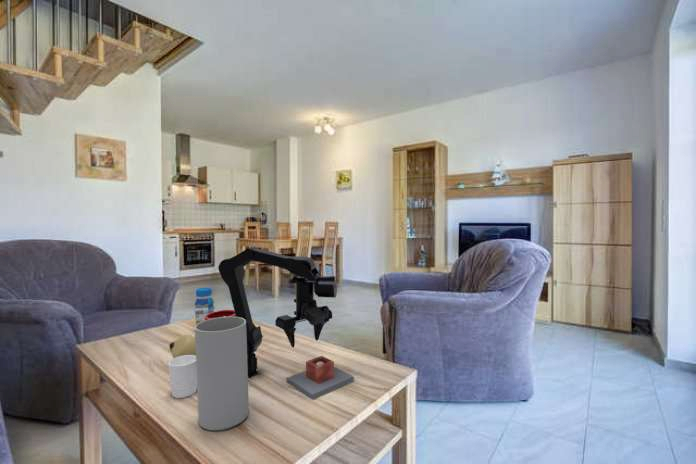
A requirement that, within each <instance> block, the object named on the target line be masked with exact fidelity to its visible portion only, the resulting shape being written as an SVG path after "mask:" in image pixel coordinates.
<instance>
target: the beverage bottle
mask: <svg viewBox="0 0 696 464" xmlns="http://www.w3.org/2000/svg"><path fill="white" fill-rule="evenodd" d="M212 291H213V289H212V288H211V287H200V288H197V289H196V290H195V296H196V300H195V302H194V307H195V308H194V313H195V314H194V315H195V318H194V319H195V326H196V325H197V324H198V323H200V322H202V321H205V316H206V315H207V314H209V313H212V312H215V305H214V303H215V302H214V299H213V298H212V295H213V292H212Z"/></svg>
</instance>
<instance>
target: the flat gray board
mask: <svg viewBox="0 0 696 464" xmlns="http://www.w3.org/2000/svg"><path fill="white" fill-rule="evenodd" d="M316 364H317V365H318V366H319V365H321V364H324V363H323V362H317V363H316ZM354 378H355V377H354V375H352V374H350V373H347V372H346V371H344V370H342V369H340V368H338V367H336V366H334V378H331V379H329V380H327V381H324V382H322V383H319V384H317V383H315V382H314V381H312V380H310V379H309V378H307V377H306V370H303V371H300V372H299V373H296V374H293V375H290V376H288V377H286V383H287V384H288V385H291V386H292V387H293V388H294V389H296V390H297V391H299V392H301V393H302V394H303V395H305V396H306V397H308V398H309V399H311V400H312V401H313V400H315V399H317V398H319V397H321V396H323V395H326V394H329V393H330V392H332V391H335V390H337V389H340V388H341V387H344V386H346V385H347V384H351V383H352V382H354V381H355V379H354Z"/></svg>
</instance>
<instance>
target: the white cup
mask: <svg viewBox="0 0 696 464" xmlns="http://www.w3.org/2000/svg"><path fill="white" fill-rule="evenodd" d="M167 364H168V374H169V383H170V387H171V388H170V389H171V396H172V397H173V398H174V397H175V399H185V398H188V397H190V396H192V395H194V394H195V393H196V392H197V373H196V356H194V355H184V356H179V357H176V358H172V359H170V360H169V361H168V363H167Z"/></svg>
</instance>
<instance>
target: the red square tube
mask: <svg viewBox="0 0 696 464" xmlns="http://www.w3.org/2000/svg"><path fill="white" fill-rule="evenodd" d="M317 362H323V363H324V364H321V365H319V366H318V365H317V364H316V363H317ZM334 367H335V361H334V360H332V359H329V358H328V357H325V356H324V355H320V356H317V357H315V358H312V359H309V360H306V361H305V371H306V377H307V378H309V379H310V380H312V381H314V382H315V383H317V384H319V383H322V382H324V381H327V380H329V379H331V378H334Z"/></svg>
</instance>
